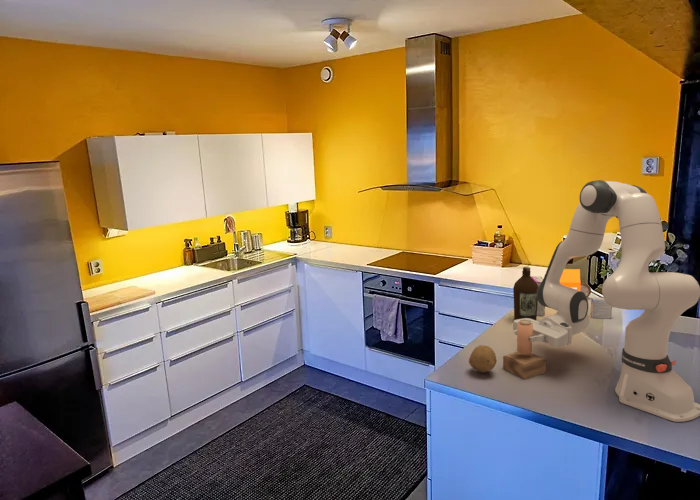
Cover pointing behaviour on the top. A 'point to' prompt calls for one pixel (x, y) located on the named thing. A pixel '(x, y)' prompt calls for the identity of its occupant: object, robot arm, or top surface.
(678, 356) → the top surface
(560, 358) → the top surface
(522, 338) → the terracotta jar
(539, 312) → the candy bar box
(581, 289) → the tin
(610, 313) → the medicine box
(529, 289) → the olive oil
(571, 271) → the orange juice
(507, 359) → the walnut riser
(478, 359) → the natural sponge
